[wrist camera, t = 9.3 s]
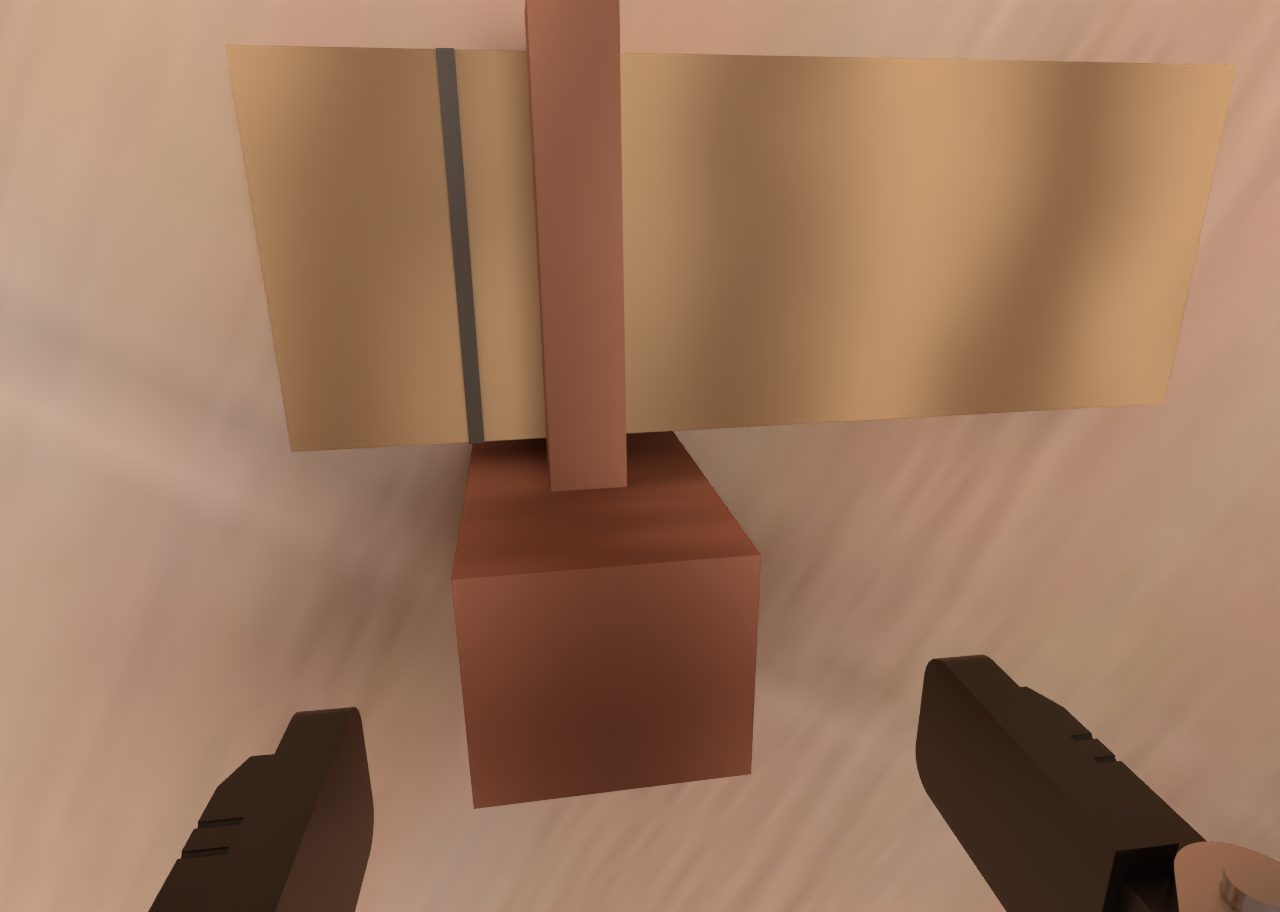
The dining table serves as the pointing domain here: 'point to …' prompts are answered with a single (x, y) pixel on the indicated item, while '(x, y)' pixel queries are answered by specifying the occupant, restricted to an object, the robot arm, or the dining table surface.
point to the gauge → (595, 506)
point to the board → (728, 236)
